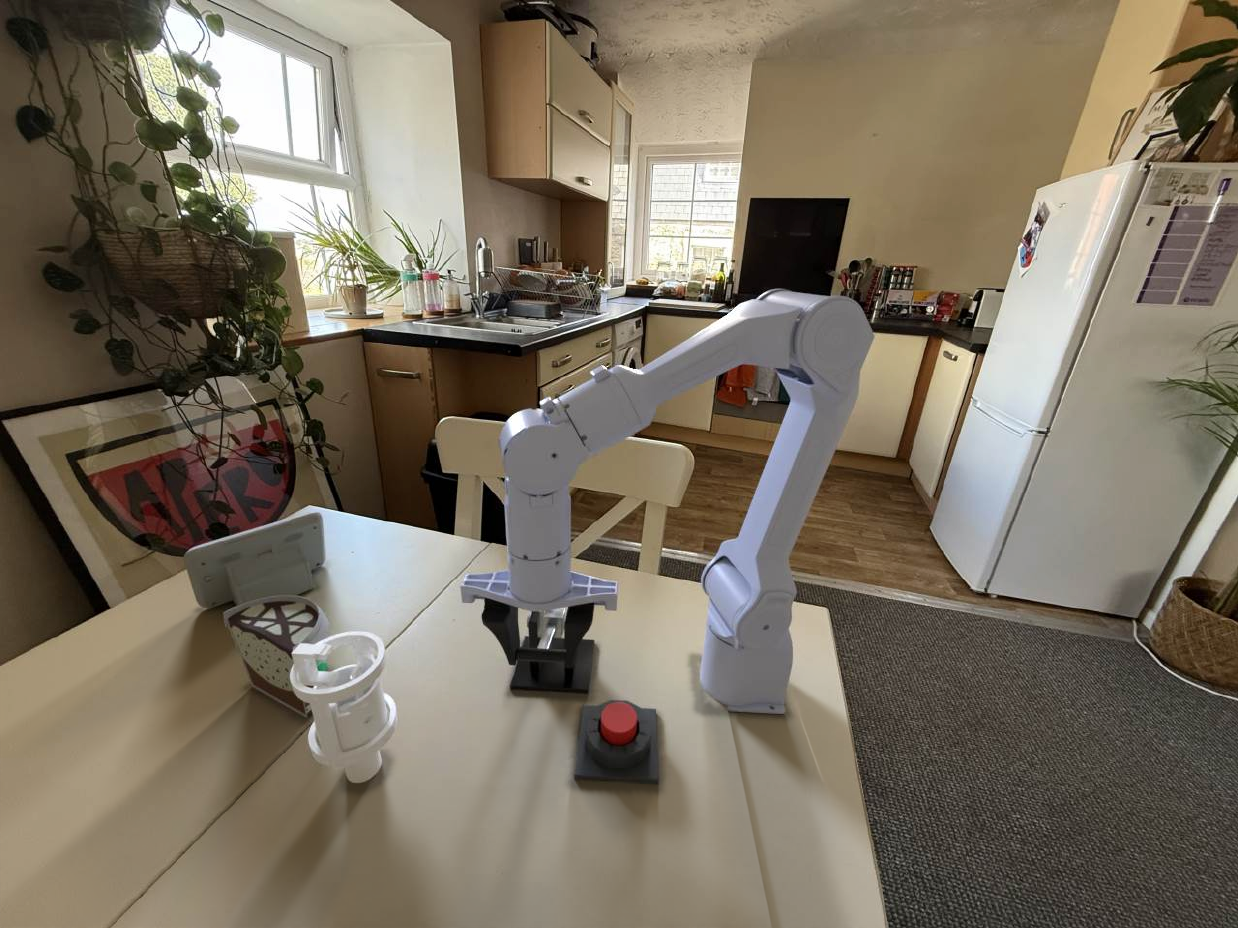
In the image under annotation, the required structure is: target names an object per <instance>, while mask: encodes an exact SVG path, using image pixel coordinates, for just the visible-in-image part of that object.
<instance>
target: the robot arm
mask: <svg viewBox="0 0 1238 928" xmlns="http://www.w3.org/2000/svg"><path fill="white" fill-rule="evenodd" d="M874 340H875V334H874V331H873V329H872V327H871V325H870V323H869V321H868V319H867V316H866V314H865V312H864V310H863V308H862V307H861V305H860V304H859V303H858V302H857V301H856V300H854V299H853V298H851V297H848V296H844V295H837V294H836V295H834V294H833V295H831V296H829V295H820V294H814V293H813V294H812V293H804V292H797V291H792V290H789V289H786V288H774V289H769V290H767V291H765V292H763V293H762V294H761V295H759V296H758V297H757V298H756V299H755V298H754V299H753V298H752V299H750V300H746V301H744V302H741V303H739V304H738V305H737V306H736V307H735V308H734V309H733V310H732V311H731V312H729V313H728V314H727V315H725V316H723V317H722V318H720V319H719V320H717V321H715V322H713V323H712V324H710V325H709V326H707V327H706V328H704V329H702V330H701V331H699V332H697V333H696V334H694V335H693V336H691V337H689V338H688V339H686V340H684V341H683V342H681V343H679V344H678V345H676V346H674V347H673V348H672V349H670V350H668V351H666V352H665V353H664V354H662V355H660V356H658V357H657V358H655V359H654V360H652V361H651V362H649V363H647V364H646V365H644V366H642V367H641V368H639V369H635V368H634V369H633V368H630V367H627V366H624V365H615V366H613V367H611V368H609V369H607V368H606V366H604V365H602V364H601V365H599V366H597V367H596V368H594V369H591V370H590V372H589V375H590V376H591V379H589V380H588V381H585V382H583V383H582V384H580V385H578V386H576V387H575V388H573V389H571V390H569V391H568V392H566V393H564V394H562V395H560V396H558V397H556V398H555V399H552V398H551V397H550V396H547V397H545V398H543V399H542V400H540V401H539V405H540V408H536V409H532V408H531V407H530V408H525V409H522V410H520V411H517V412H516V413H514V414H512V415H511V416H510V417H509V418H508V419H507V420H506V421H505V425H504V426H502V428H501V431H500V435H499V436H500V437H499V438H498V440H497V442H498V448H499V450H500V453H501V459H502V467H503V470H504V473H505V478H504V483H503V485H504V493H505V497H504V503H503V504H504V521H505V538H506V552H507V553H506V554H507V569H506V570H497V571H493V572H485V573H466V575H465V576H464V579H463V580H462V582H461V584H460V596H461V603H462V604H473V603H475V601H476V600H483V602H484V603H483V604H484V605H483V610H482V612H481V622H482V624H483V626H484V627H486V628H487V629H488V630H489V631H490V632H491V633H492V634H493V636H494V637H495V639H496V640H497V641H498V643H499V645H500V646H501V648H502V651H503V652H504V654H505V657H506V661H507V663H508V665H509V666H516V662H517V660H516V649H517V647H521V636H520V626H519V625H520V624H519V609H521V610H524V611H528V612H531V611H544V612H545V611H547V610H553V609H558V608H564V609H565V608H567V607H568V610H567V609H566V612H567V614H566V613H565V617H566V619H565V633H566V657H565V668H573V662H574V656H575V653H576V651H577V648H578V646H579V644H580V642H581V640H582V639H584V638H585V635H587V633H588V632H589V631H590V629H591V627H592V624H593V620H594V612H595V606H601V607H603V606H604V609H605V610H606V611H611V612H612V611H613V612H615V611H617V609H618V596H619V595H618V592H619V591H618V590H619V581H618V580H617V581H615V580H608V579H602V578H597V577H595V576H590V575H586V574H582V573H579V572H575V571H572V499H571V495H570V484H571V483H572V481H573V480H574V478H575V477H576V475H577V472H578V469H579V467H580V466H581V465H582V464H584V463H585V462H587V461H588V460H590V459H591V458H593V457H595V456H598V455H599V454H601V453H603V452H604V451H607V450H608V449H610V448H612V447H614V446H616V445H617V444H619V443H621V442H623V441H624V440H626V439H628V438H629V437H631V436H633V435H635V434H637V433H639V432H640V431H642V430H644V429H646V428H648V427H649V426H651V424H652V422H653V419H654V416H655V414H656V411H657V409H658V407H659V405H661V404H662V403H663V404H664V403H665V402H667V401H669V400H671V399H673V398H675V397H677V396H680V395H681V394H683V393H685V392H687V391H689V390H691V389H694V388H695V387H698V386H700V385H702V384H703V383H706V382H708V381H710V380H712V379H714V378H717V377H718V376H720V375H723V374H724V373H726V372H729V371H730V370H733V369H735V368H737V367H739V366H741V365H748V366H755V367H756V366H757V367H766V368H772V369H773V370H774V371H775V372H776V374H777V376H778V378H779V380H780V382H781V384H782V385H783V387H784V388H785V391H786V392H787V394H788V396H789V399H790V402H789V404H788V407H787V409H786V412H785V415H784V417H783V420H782V423H781V425H780V426H779V427H780V428H779V431H778V432H777V436H776V438H775V440H774V443H773V446H772V448H771V451H770V452H769V453H770V454H769V456H768V459H767V461H766V463H765V467H764V469H763V472H762V474H761V476H760V479H759V482H758V484H757V487H756V489H755V492H754V494H753V497H752V500H751V503H750V504H749V508H748V509H747V512H746V515H745V518H744V520H743V523H742V526H741V528H740V531H739V534H738V535H737V537H736V538H733V539H727V540H724V541H722V542H721V543H720V546H719V548H718V551H717V553H716V554H715V556H714V557H713V558H712V559H711V560H710V561H709V562H708V563H707V565H706V566H705V567H704V569H703V570H702V573H701V577H700V585H701V589H702V590H703V592H704V593H705V594H706V596H708V604H707V607H708V611H707V616H706V625H705V632H704V638H703V639H704V640H703V647H702V654H701V655H702V656H701V661H700V670H699V671H700V672H699V681H700V685H701V687H702V688H703V690H704V691H705V692H706V694H707V695H708V696H710V697H711V698H712V699H714V700H715V701H717V702H719V703H720V704H723V705H726V708H727V711H728V712H734V713H735V712H736V713H737V712H738V713H753V714H754V713H755V714H773V715H774V714H775V715H784V714H785V713H786V706H785V700H786V696H787V691H788V687H789V682H790V678H791V673H792V669H793V663H794V661H793V660H794V646H793V640H792V639H793V638H792V635H791V632H790V627H791V624H792V622H793V610H792V609H793V608H792V607H793V603H794V600H795V598H796V596H797V594H798V591H797V585H796V582H795V580H794V576H793V573H792V569H791V566H790V561H789V558H790V556H791V553H792V551H793V549H794V547H795V545H796V542H797V540H798V538H799V535H800V533H801V531H802V528H803V526H804V524H805V521H806V519H807V516H808V515H809V512H810V510H811V508H812V506H813V503H814V500H815V498H816V496H817V493H818V492H819V489H820V487H821V484H822V482H823V480H824V477H825V475H826V472H827V470H828V468H829V466H830V464H831V461H832V459H833V456H834V454H835V452H836V450H837V447H838V445H839V443H840V440H841V438H842V437H843V433H844V431H845V429H846V426H847V424H848V422H849V419H850V417H851V415H852V413H853V410H854V409H855V405H856V404H857V400H858V397H859V391H860V378H861V370H862V368H863V365H864V363H865V361H866V358H867V357H868V353H869V351H870V349H871V347H872V344H873V342H874Z"/></svg>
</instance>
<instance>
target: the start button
mask: <svg viewBox="0 0 1238 928" xmlns="http://www.w3.org/2000/svg"><path fill="white" fill-rule="evenodd" d="M636 730H637V714H636V712H635V710H634V709H633V708H632V707H631V706H630V705H628V704H626V703H622V702H615V703H612V704H609V705H608V706H606V707H605V708H604V710H603V711H602V714H601V734H602V736H603V738H604V739H605V740H606V741H607V742H608V743H610V744H613V745H618V746H620V745H625V744H628V743H629V742H631V741H632V740H633V739H634V737H635V735H636Z"/></svg>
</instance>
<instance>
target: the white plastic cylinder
mask: <svg viewBox="0 0 1238 928" xmlns="http://www.w3.org/2000/svg"><path fill="white" fill-rule="evenodd" d="M341 645H345V646H353V650H354V652H355V658H356V663H354V664H348V665H344V666H341V667H339V668H336V669H334V670H331V671H329V670H328V671H318V669H317V665H316V661H315V659H320V660H326V659H327V658H328V657H329V656H330V655H331V653H332V652H333V651H334V650H336V649H338V648H339V647H340V646H341ZM370 648H372V649H374V650H375V651H376V652H377V656H376V655H375V653H371V649H370ZM292 657H293V661H294V664H293V666H292V668H291V672H290V680H291V684H292V687H293V690H294V693H295V695H296V696H297V697H298V698H299V699H301V700H302V701H304V702H307V703H310V706H311V709H312V713H313V714H312V716H313V722H312V724H311V725H310V727H309V731H308V736H307V741H308V745H309V749H310V752H311V755H312V757H313V759H314V760H315V761H316V762H317V763H319V764H320V765H323V766H326V767H330V768H340V767H341V768H344V772H345V775H346V778H347V780H348V781H349V782H350V783H353V784H361V783H364V782H367V781H369V780H371V779H372V778H373V777H374V776H376V775H377V774H378V772H379V771H380V770H381V767H382V764H383V760H382V755H381V751H380V750H381V749H382V748H383V747H384V746H385V745H386V744H387V743H388V742H389V741H390V739H391V738H392V736H393V735H394V733H395V731H396V728H397V724H398V712H397V706H396V703H395V701H394V699H393V697H391V696H390V694H388V693H386V692H384V687H383V683H382V678H381V675H382V673H383V672H384V669H385V667H386V664H387V653H386V647H385V644H384V641H383V640H382V639H381V638H380V636H378V635H376V634H375V633H372V632H368V631H363V630H361V631H360V630H353V631H345V632H341V633H337V634H334V635H331V636H327V638H326V639H323V640H321V641H319V642H318V643H316V644H305V643H300V644H299V645H298V646H297V647H296V648H295V649H294V651H293V652H292ZM304 685H310V686H314V687H313V688H309V687H307V686H304ZM388 711H389V714H388ZM318 741H319V744H320V746H319V745H318Z"/></svg>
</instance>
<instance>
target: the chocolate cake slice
mask: <svg viewBox="0 0 1238 928" xmlns="http://www.w3.org/2000/svg"><path fill="white" fill-rule="evenodd" d="M222 614H223V616H222V618H223V622H224V623H223V624H224V627H225V628H227V627H228V629H229V632H230V635H231V637H232V639H233V642H234V644H235V647H236V649H237V652H238V655H239V657H240V660H241V662H242V664H243V667H244V670H245V673H246V674H247V677H248V680H249V682H250V685H251V687H252V688H253V689H255V690H257V691H259V692H261V693H263V694H264V695H266V696H268V697H269V698H271V699H272V700H274V701H276V702H278V703H280V704H281V705H283V706H285V707H287V708H288V709H290V710H292V711H294V712H296V713H297V714H299V715H301V716H302V717H303V718H305V719H309V718H310V717H311V716H313V713H312V709H311V706H310V703H307V702H304V701H302V700H301V699H299V698H298V697H297V696H296V695H295V693H294V690H293V687H292V684H291V680H290V672H291V668H292V666H293V664H294V661H293V657H292V652H293V651H294V649H295V648H296V647H297V646H298V645H299V644H300V643H305V644H316V643H318V642H319V641H321V640H323V639H326V638H328V637H329V633H330V622H329V620H328V618H327V615H326V614H325V613H324V611H323V609H322V608H321V607H320V606H319V605H318V604H317V603H316V602H314V600H312V599H310V598H308V597H305V596H301V595H279V596H271V597H266V598H261V599H257V600H253V601H250V602H247V603H244V604H241V605H239V606H237V605H236V606H233V607H232V608H230V609H227V610H226V611H223V612H222ZM315 661H316V665H317V669H318V671H328V672H329V668H328V660H327V658H326V660H320V659H315ZM304 686H307V687H309V688H313V687H314V686H310V685H304Z"/></svg>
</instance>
